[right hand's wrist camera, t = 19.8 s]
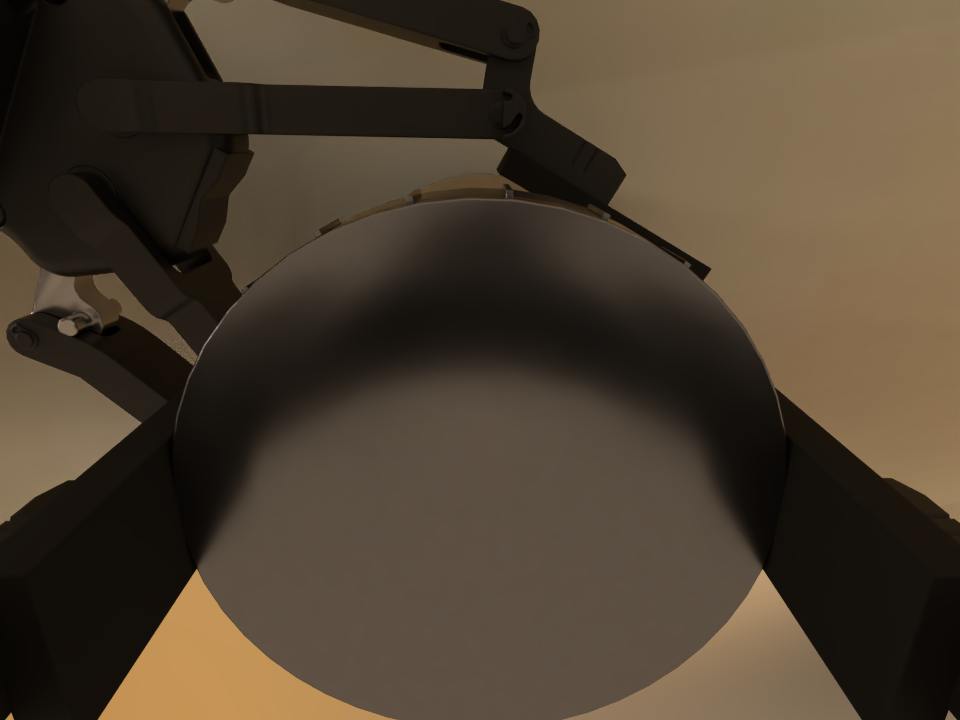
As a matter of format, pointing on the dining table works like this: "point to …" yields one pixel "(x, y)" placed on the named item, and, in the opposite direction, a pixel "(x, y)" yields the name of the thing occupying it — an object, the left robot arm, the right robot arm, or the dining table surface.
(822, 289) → the dining table surface
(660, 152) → the dining table surface
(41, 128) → the left robot arm
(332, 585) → the lid
